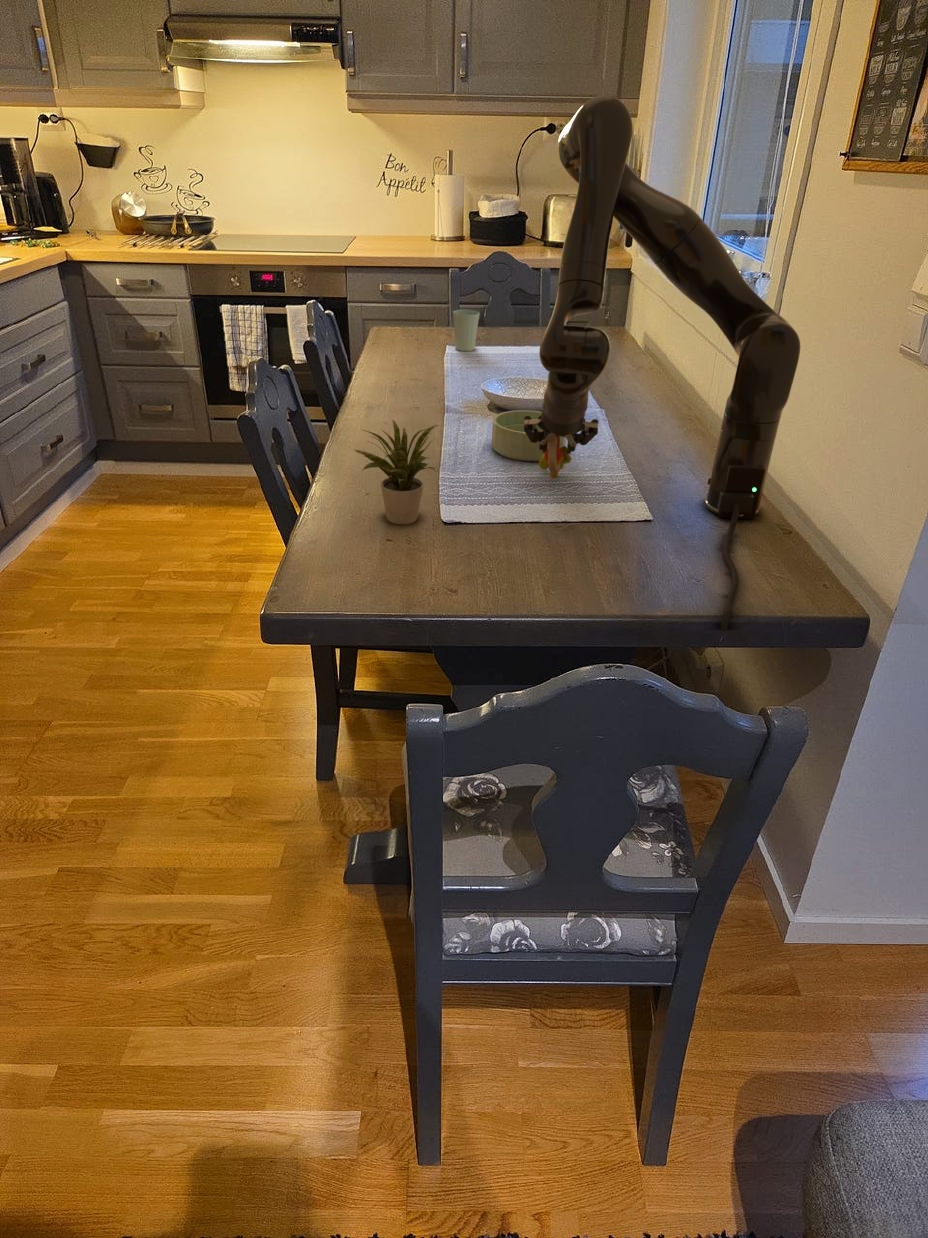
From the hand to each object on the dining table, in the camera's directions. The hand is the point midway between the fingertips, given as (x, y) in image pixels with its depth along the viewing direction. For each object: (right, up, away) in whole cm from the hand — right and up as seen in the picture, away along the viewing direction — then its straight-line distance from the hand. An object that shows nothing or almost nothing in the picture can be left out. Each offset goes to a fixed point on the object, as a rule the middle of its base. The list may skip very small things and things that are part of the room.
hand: (556, 448), depth 160 cm
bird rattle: (0, -5, +1) cm, 5 cm away
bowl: (-4, +3, +14) cm, 15 cm away
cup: (-17, +47, +88) cm, 101 cm away
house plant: (-28, -15, -16) cm, 36 cm away
